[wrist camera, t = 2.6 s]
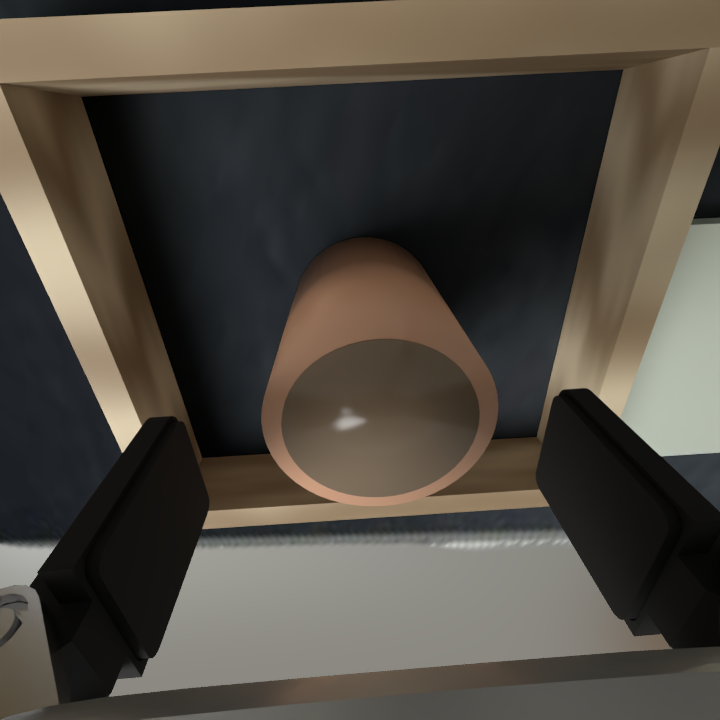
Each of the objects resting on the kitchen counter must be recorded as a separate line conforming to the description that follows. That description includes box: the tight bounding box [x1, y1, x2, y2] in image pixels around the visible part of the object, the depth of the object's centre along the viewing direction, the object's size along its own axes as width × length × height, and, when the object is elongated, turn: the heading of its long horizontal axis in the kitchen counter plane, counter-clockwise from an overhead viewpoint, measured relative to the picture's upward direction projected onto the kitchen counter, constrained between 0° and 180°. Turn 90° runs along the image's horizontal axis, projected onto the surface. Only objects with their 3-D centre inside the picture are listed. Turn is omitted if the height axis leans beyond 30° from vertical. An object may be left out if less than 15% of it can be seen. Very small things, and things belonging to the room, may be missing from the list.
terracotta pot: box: [261, 237, 498, 506], centre depth 13 cm, size 6×6×8 cm
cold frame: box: [0, 0, 720, 529], centre depth 15 cm, size 18×20×4 cm
